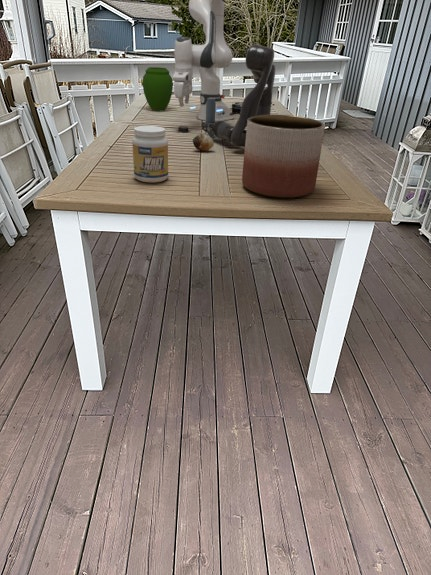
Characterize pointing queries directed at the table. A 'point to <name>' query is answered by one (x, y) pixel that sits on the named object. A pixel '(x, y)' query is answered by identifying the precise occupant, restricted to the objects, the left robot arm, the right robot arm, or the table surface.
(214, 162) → the table surface
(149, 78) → the vase
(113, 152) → the table surface
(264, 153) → the planter
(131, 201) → the table surface
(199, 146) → the seashell
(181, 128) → the lid
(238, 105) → the sign
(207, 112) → the dark gray cylinder
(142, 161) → the supplement tub
